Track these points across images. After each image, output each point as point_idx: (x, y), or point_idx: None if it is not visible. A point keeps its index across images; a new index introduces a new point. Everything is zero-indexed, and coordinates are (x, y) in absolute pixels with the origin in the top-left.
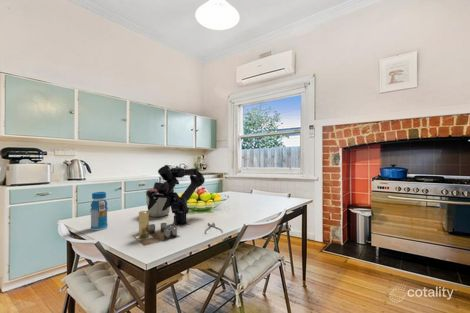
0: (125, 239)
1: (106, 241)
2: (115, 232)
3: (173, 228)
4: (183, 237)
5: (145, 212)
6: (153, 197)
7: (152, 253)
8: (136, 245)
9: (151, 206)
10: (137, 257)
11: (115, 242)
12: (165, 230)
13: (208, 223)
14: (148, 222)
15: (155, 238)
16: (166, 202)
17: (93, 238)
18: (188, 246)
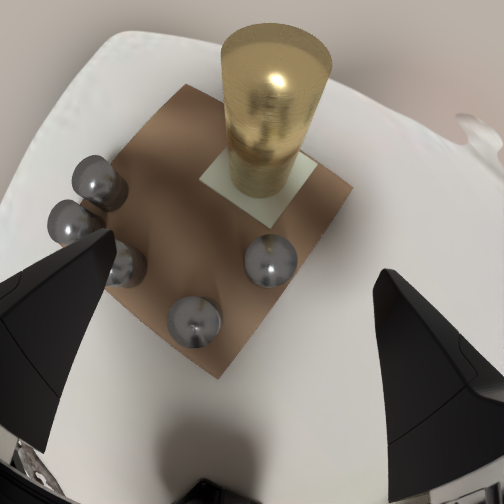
0: (363, 163)
1: (418, 132)
2: (478, 254)
3: (63, 217)
4: None
5: (236, 39)
6: (470, 471)
7: (126, 69)
8: None
9: (386, 346)
10: (165, 36)
11: (373, 123)
12: (96, 164)
13: (57, 491)
14: (226, 128)
15: (177, 174)
16: (10, 290)
17: (484, 163)
18: (19, 167)
